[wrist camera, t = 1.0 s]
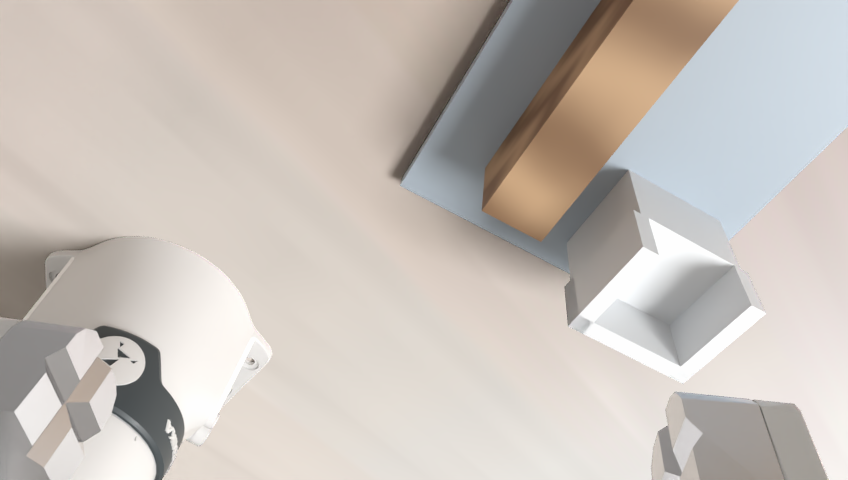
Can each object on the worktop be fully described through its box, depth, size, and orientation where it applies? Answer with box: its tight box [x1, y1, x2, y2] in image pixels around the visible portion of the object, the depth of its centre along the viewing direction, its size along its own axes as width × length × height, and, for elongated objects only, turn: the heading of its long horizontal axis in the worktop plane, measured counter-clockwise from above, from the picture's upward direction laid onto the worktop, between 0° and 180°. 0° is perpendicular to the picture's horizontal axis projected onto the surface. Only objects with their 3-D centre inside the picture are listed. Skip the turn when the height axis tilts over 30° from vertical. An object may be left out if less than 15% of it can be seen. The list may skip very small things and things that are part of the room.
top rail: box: [482, 0, 739, 242], centre depth 33 cm, size 26×4×5 cm, turn 152°
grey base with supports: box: [400, 0, 848, 384], centre depth 33 cm, size 34×20×10 cm, turn 152°
